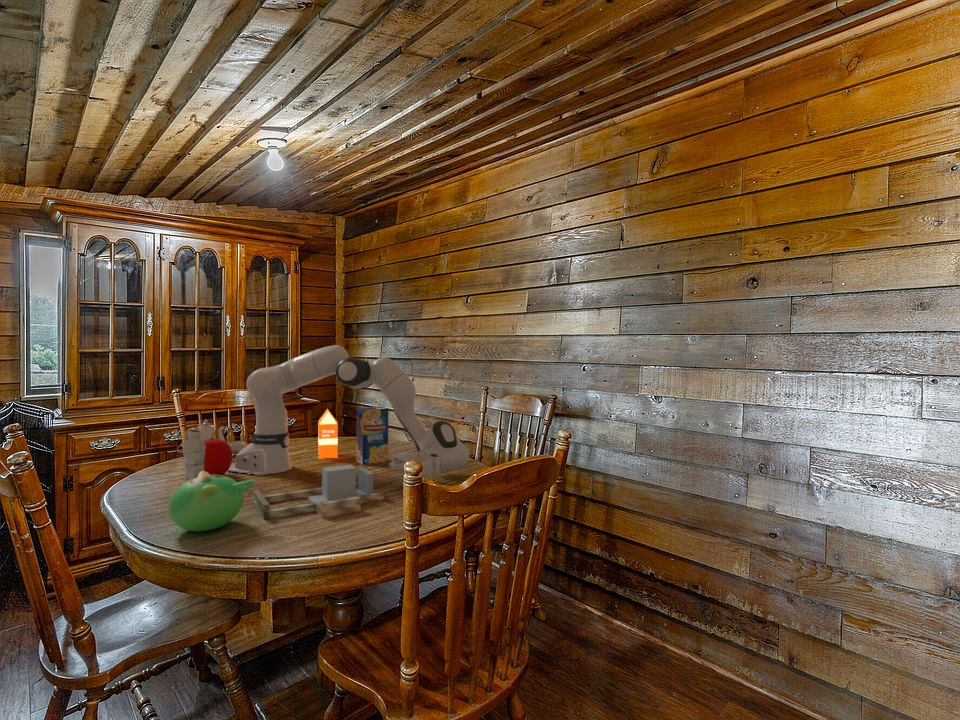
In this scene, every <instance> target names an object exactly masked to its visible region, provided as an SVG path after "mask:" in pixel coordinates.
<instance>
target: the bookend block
mask: <svg viewBox="0 0 960 720" xmlns="http://www.w3.org/2000/svg"><path fill="white" fill-rule="evenodd" d="M356 474H357V475H356ZM356 477H357V478H356ZM356 479H357V480H356ZM356 481H357V482H358V489H356ZM321 487H322V495H317V496H310V497H307V499H308V502H310V503H316V502H320V503H322V502H328V501H334V500H340V499H346V498H347V497H354V496H360V495H366V494H372V493H374V473H373V472H371V471H370V470H368V469H366V468H365V467H360V466H359V467H357V472H356V467H355V466H354V465H352V464H342V465H334V466H327V467H322V468H321Z"/></svg>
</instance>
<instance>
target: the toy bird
mask: <svg viewBox="0 0 960 720" xmlns="http://www.w3.org/2000/svg"><path fill="white" fill-rule="evenodd" d="M183 483H184V482H183ZM183 483H182V484H181V485H179V487H178V488H176V490H175V491H174V492H173V494H172V495H171V497H170V499H169V501H168V502H169V503H168V513H169V517H170V519H171V520H172V522H173V523H174V524H175V525H176V526H177V527H179V528H181V529H183V530H185V531H189V532H208V531H211V530H215V529H218V528H219V529H220V528H221V527H223V526H225V525H226V524H227V525H228V523H230V522H231V521H232V520H234V518H235V517H236V516H237V515H238V514H239V512H240V511H241V509H242V507H243V505H244V504H243V503H244V496H245V495H244V493H245V492H246V491H247V490H250V489H251V488H252V487H254V485H256V484H257V479H248V480H243V481H239V482H237V481H236V480H235V479H233V478H231V477H229V476H226V475H210V474H209V473H208V472H206V471H201V472H200V473H199V474H198V477H196V478H193V479H191V480H189V481H187V482H185V483H184V484H183Z"/></svg>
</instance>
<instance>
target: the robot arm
mask: <svg viewBox="0 0 960 720" xmlns="http://www.w3.org/2000/svg"><path fill="white" fill-rule="evenodd" d="M333 375H335V377H336V379H337V380H338V382H340V384H341V385H343V386H345V387H349V388H351V389H360V390H361V389H366V388H370V387H371V386H372V385H375V386H376V387H377V389H379V390H380V392H381V393H382V394H383V395H384V397H386V399H387V401H388V402H389V404H390V405H391V407H392V409H393V412H394V415H396V418H397V419H398V421H399V423H400V424H401V425H402V427H403V428H404V429H405V431H406V433H407V434H408V435H409V437H410V438H411V439H412V441H413V443H414V445H415V447H416V451H417V452H418V453H416V454H415V453H413V452H398V453H393V454H392V455H391V462H389V463H388V469H390V470H392V471H396V470H399V471H405V470H404V464H405V463H406V462H407V461H411V460H417V461H420V462H421V463H422V464H423V476H422V477H427V476H433V477H439V476H440V472H451V471H455V470H457V471H458V470H461V469H463V468H464V467H466V466H467V465H468V462H470V461H469V460H470V450H469V447H468V446H467V445H466V444H464V443H463V442H462V441H461V440H460V439H459V436H457V433H456V430H455V429H456V428H454V426H453V425H452V424H451V423H450V422H448V421H445V420H438V421H436V422H435V423H433V424H432V425H431V426H430V428H429V429H428V430H426V428H425V426H424V425H423V424H422V422H421V421H420V419H419V418H418V417H417V415H416V412H415V407H414V405H415V398H416V392H417V391H416V386H415V384H414V381H413V380H412V379H411V378H410V377H409V376H408V374H407V373H406V372H405V371H404V370H403V369H402V368H401V367H400V366H399V365H398V364H397V363H396V362H394V361H393V360H392V359H391V358H389V357H386V356H382V357H381V356H380V357H379V358H377V359H375V360H373V362H368V361H367V360H364V359H361V358H358V357H350V356H349V354H348V351H347V349H346V348H345V347H343V346H341V345H339V344H334V345H329V346H324V347H321V348H317V349H314V350H311V351H309V352H306V353H303V354H301V355H298V356H295V357H293V358H291V359H289V360H287V361H284V362H283V363H280V364H277V365H273V366H270V367H269V366H268V367H262V368H258V369H256V370H255V371H253V372H252V373H250V374H249V375H248V377H247V379H246V389H247V391H248V392H249V394H250V395H251V397H252V401H253V406H254V410H255V432H254V433H253V434H251V435H249V440H251V443H249V444H248V445H247V446H244V447H245V448H243V450H242V451H240V452H239V453H238V454H237V456H235V460H234V464H233V465H231V466H230V468H229V470H228V471H232V472H239V473H238V474H241V473H247V474H246V475H250V474H254V475H253V476H259V475H260V476H266V475H271V474H279V473H285V472H287V471H290V470H292V469H293V466H292V463H291V458H290V454H289V453H290V452H289V443H290V435H289V434H290V433H289V431H288V410H287V409H286V407H285V403H284V399H283V394H286V393H289V392H291V391H294V390H297V389H299V388H301V387H304V386H307V385H308V384H312V383H314V382H317V381H320V380H323V379H325V378H327V377H330V376H333ZM228 471H227V472H228ZM232 472H231V473H232Z"/></svg>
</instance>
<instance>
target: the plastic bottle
mask: <svg viewBox="0 0 960 720" xmlns="http://www.w3.org/2000/svg"><path fill="white" fill-rule="evenodd" d="M200 437H201V431H200V430H196V429H194V430H190V431H188V432H187V435H186V438H187V441H185V442H184V443H185V444H184V446H183V447H182V453H183V454H182V455H183V459H184V480H183V483H182V484H184V483H185V482H187V481H189V480H191V479H193V478H196V477H198V474H199V473H200V472H201V471H204V457H205V450H206V446H205V444H204V442H203V441H202V440H201V439H200Z"/></svg>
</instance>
